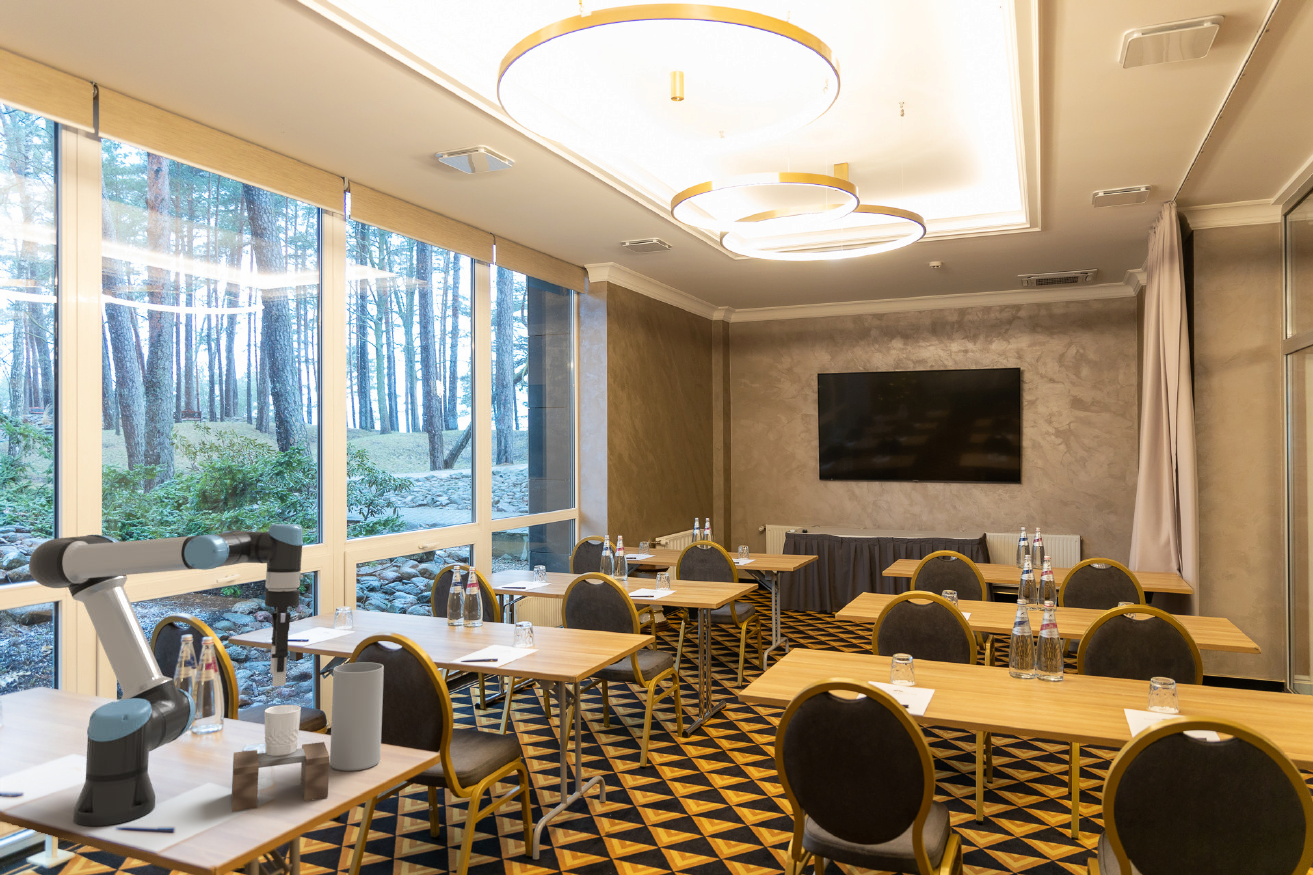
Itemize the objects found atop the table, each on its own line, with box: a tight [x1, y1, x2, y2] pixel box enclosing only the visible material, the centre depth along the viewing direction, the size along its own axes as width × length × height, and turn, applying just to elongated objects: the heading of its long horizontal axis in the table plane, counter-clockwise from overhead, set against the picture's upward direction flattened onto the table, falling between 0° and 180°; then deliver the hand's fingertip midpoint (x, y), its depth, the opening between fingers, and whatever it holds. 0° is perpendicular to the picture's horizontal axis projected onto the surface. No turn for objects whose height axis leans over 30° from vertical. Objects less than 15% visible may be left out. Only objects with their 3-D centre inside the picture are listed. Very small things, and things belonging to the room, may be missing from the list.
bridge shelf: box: [231, 741, 330, 813], centre depth 195 cm, size 20×12×10 cm, turn 117°
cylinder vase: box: [329, 661, 385, 772], centre depth 219 cm, size 12×12×25 cm
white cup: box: [264, 704, 302, 756], centre depth 198 cm, size 8×8×10 cm
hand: (277, 679), depth 197 cm, fingers open, 13 cm apart
